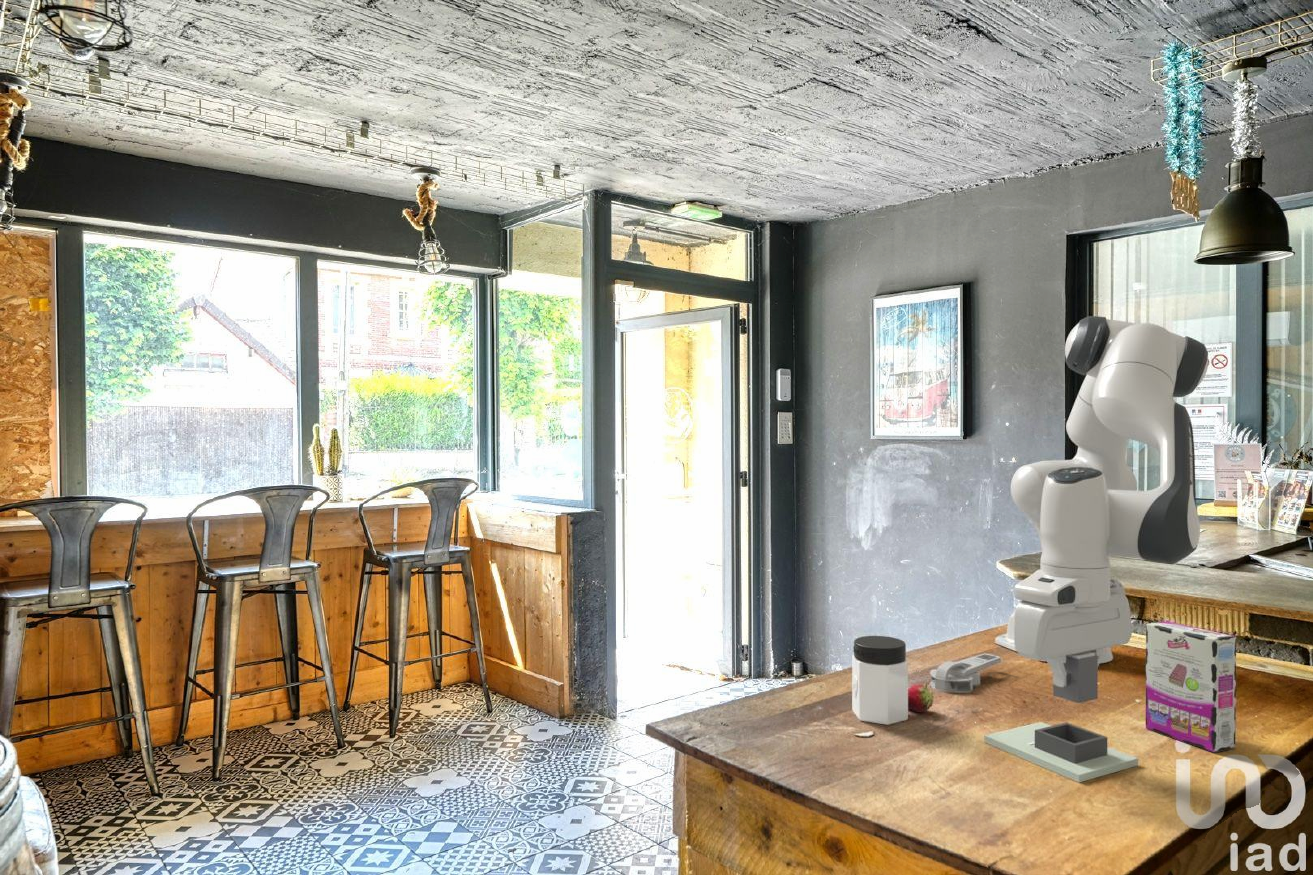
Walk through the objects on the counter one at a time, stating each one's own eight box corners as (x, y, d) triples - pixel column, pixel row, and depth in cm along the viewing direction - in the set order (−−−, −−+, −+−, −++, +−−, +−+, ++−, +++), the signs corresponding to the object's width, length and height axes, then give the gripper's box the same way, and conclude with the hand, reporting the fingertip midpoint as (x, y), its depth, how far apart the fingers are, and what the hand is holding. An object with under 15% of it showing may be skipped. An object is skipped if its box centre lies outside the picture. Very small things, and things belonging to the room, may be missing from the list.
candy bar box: (1237, 748, 126) (1239, 635, 126) (1214, 754, 124) (1215, 639, 124) (1165, 723, 137) (1166, 619, 136) (1143, 728, 135) (1144, 622, 134)
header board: (984, 741, 130) (984, 718, 130) (1040, 728, 135) (1040, 705, 135) (1078, 782, 115) (1079, 756, 115) (1138, 765, 121) (1138, 740, 121)
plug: (1053, 695, 124) (1053, 650, 124) (1072, 690, 126) (1072, 646, 125) (1078, 703, 120) (1078, 656, 120) (1097, 698, 122) (1097, 652, 122)
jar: (847, 706, 146) (847, 635, 145) (895, 705, 146) (895, 634, 146) (861, 726, 137) (861, 649, 136) (913, 724, 137) (913, 648, 137)
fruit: (909, 703, 147) (909, 674, 147) (940, 713, 142) (940, 683, 142) (893, 708, 145) (893, 678, 144) (923, 719, 140) (923, 688, 140)
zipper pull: (1012, 676, 162) (1012, 653, 162) (959, 696, 151) (959, 671, 150) (973, 666, 168) (973, 644, 168) (919, 685, 157) (919, 662, 157)
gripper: (1103, 574, 130) (1103, 666, 130) (1005, 587, 121) (1005, 687, 121) (1143, 580, 124) (1143, 677, 125) (1044, 595, 115) (1044, 700, 115)
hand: (1075, 682), depth 123 cm, fingers closed on plug, 4 cm apart
